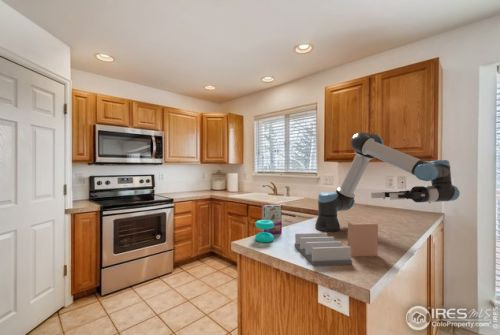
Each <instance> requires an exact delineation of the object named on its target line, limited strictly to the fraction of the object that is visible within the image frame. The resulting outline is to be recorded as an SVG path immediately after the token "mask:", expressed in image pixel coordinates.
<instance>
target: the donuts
mask: <svg viewBox="0 0 500 335" xmlns="http://www.w3.org/2000/svg"><path fill="white" fill-rule="evenodd" d="M254 224H255V227H256V228H257V229H260V230H262V229H271V228H273V226H274V223H273V222H272V221H269V220H262V219H259V220H257V221H256V222H254ZM254 238H255V240H256V241H257V242H259V243H271V242H273V241H274V238H275V235H274V234H271V233H268V232H262V231H260V232H257V234H255V236H254Z"/></svg>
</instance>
